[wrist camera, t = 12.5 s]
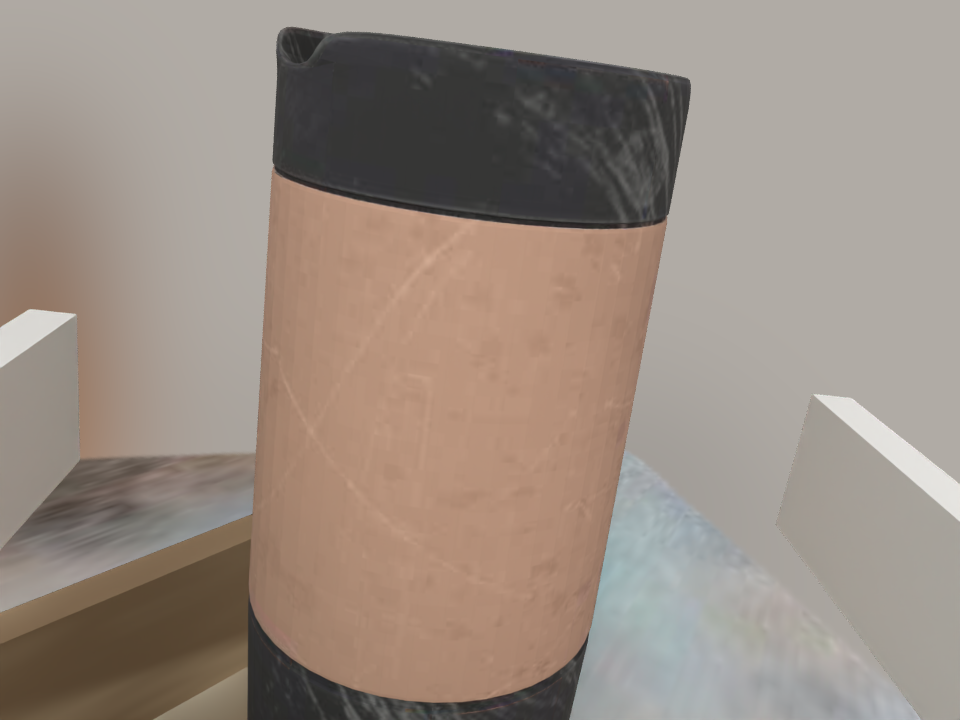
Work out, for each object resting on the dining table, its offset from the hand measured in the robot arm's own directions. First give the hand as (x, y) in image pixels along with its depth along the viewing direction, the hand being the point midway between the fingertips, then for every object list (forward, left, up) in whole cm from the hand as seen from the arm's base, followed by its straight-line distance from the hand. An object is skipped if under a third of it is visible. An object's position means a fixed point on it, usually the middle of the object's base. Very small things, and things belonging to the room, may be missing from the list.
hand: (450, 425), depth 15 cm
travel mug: (-2, +2, -14) cm, 14 cm away
